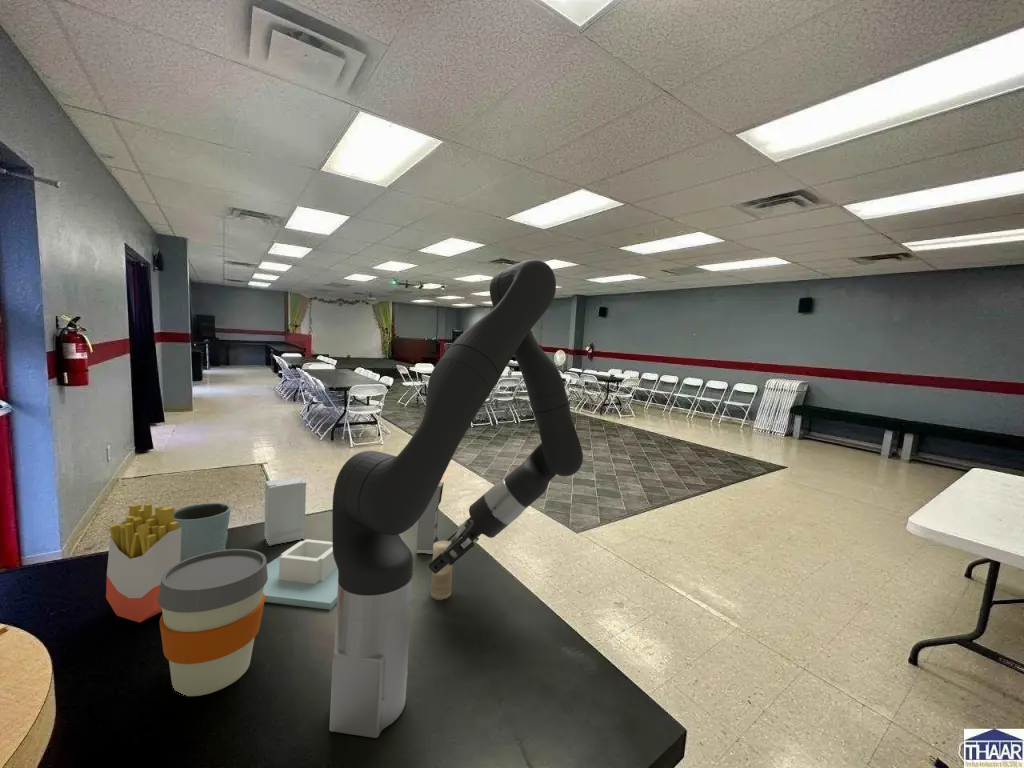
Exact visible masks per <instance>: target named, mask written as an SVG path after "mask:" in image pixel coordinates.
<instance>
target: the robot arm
mask: <svg viewBox="0 0 1024 768" xmlns="http://www.w3.org/2000/svg"><path fill="white" fill-rule="evenodd" d="M556 290H557V282H556V275H555V273H554V270H553V269H552V268H551V266H550V265H549V264H548V263H546V262H544V261H542V260H539V259H527V260H523V261H520V262H519V263H515V264H514V265H511V266H509V267H507V268H505V269H503V270H501V271H499V272H498V273H496V274H495V275H494V276H493V277H492V278H491V281H490V284H489V295H490V300H491V304H492V307H493V308H492V309H491V310H490V311H489V312H488V313H486V314H485V315H484V316H482V317H480V318H479V319H478V320H477V321H476V322H475V323H473V324H472V325H471V326H470V327H468V328H467V329H466V330H465V331H463V333H461V334H460V335H459V336H458V337H457V338H456V339H455V340H454V341H453V343H451V344H450V345H449V347H448V349H447V350H446V351H445V352H444V354H443V355H442V356H441V357H440V359H439V360H438V361H437V363H436V364H435V367H434V368H433V369H432V371H431V373H430V376H429V379H428V382H427V389H426V400H425V410H424V414H423V417H422V420H421V421H420V424H419V426H418V428H417V430H416V431H415V432H414V434H413V435H412V437H411V438H410V440H409V441H408V443H407V444H406V445H405V446H404V447H403V449H402V450H401V451H400V452H399V453H398V454H397V455H393V454H389V453H386V452H382V451H381V452H380V451H375V450H364V451H362V452H359V453H356V454H354V455H353V456H351V457H350V458H348V459H347V461H345V463H344V464H343V466H342V467H341V469H340V470H339V472H338V475H337V477H336V480H335V483H334V489H333V494H332V510H331V511H332V512H331V513H332V517H331V518H332V520H331V521H332V527H331V528H332V529H331V531H332V539H331V540H332V541H331V542H332V543H333V556H334V560H335V563H336V565H337V568H338V593H337V603H336V610H335V611H336V612H335V613H336V614H335V615H336V617H335V630H334V631H335V633H334V635H335V636H334V637H335V638H334V650H333V651H334V654H333V656H332V665H331V666H332V667H331V668H332V671H331V687H330V688H331V689H330V690H331V692H330V710H329V732H332V733H341V734H347V735H354V736H360V737H366V738H367V737H368V738H374V739H377V738H379V736H380V735H381V732H382V731H383V730H384V729H386V728H387V727H388V726H390V725H392V724H393V723H394V722H395V721H396V720H397V719H398V718H399V717H400V715H401V714H402V712H403V711H404V708H405V705H406V700H407V699H406V698H407V680H408V660H409V642H410V641H409V640H410V622H411V605H412V604H411V603H412V602H411V601H412V591H413V590H412V589H413V588H412V586H413V571H414V570H413V569H414V557H413V556H414V555H413V553H412V551H411V549H410V548H409V547H408V546H407V544H406V543H405V542H404V540H403V539H402V537H401V536H400V535H401V534H403V533H405V532H406V531H408V530H410V529H411V528H412V527H413V526H414V525H415V524H416V523H418V520H419V518H420V517H421V516H422V514H423V513H424V511H425V510H426V508H427V506H428V505H429V503H430V501H431V499H432V497H433V495H434V493H435V491H436V489H437V487H438V485H439V483H440V482H442V479H443V477H444V474H445V473H446V471H447V468H448V467H449V466H450V465H449V464H450V462H451V460H452V459H453V457H454V454H455V453H456V451H457V449H458V447H459V445H460V443H461V441H462V440H463V438H464V437H465V435H466V433H467V431H468V430H469V428H470V426H471V424H472V423H473V421H474V419H475V418H476V416H477V415H478V414H479V413H478V412H479V411H480V410H481V408H482V407H483V405H484V404H485V402H486V400H487V399H488V398H489V396H490V394H491V393H492V391H493V389H494V388H495V386H496V385H497V383H498V382H499V380H500V378H501V376H503V375H502V374H503V373H504V371H505V369H507V366H508V365H509V363H510V362H511V360H512V358H513V357H514V358H515V360H516V362H517V365H518V367H519V369H520V372H521V376H522V377H523V381H524V385H525V389H526V393H527V395H528V396H527V397H528V400H529V403H530V407H531V410H532V415H533V417H534V420H535V422H536V425H537V427H538V432H539V437H540V441H541V443H539V444H538V445H537V446H536V447H535V448H534V450H533V451H532V452H531V453H530V454H529V455H528V457H527V458H526V459H525V460H524V461H523V462H522V463H521V464H520V465H519V466H517V467H516V468H515V469H514V470H513V471H511V472H510V473H509V474H507V475H506V477H504V478H503V479H501V481H499V482H497V483H496V484H494V485H493V486H492V487H491V488H489V489H488V491H485V493H483V494H482V495H481V496H480V497H479V498H478V499H477V500H475V502H473V503H472V504H470V506H469V508H468V514H469V518H466V520H465V521H464V522H463V523H461V524H460V525H459V526H458V527H457V528H456V529H455V530H454V532H453V534H452V535H451V536H449V537H448V538H447V539H446V540H445V541H450V545H449V546H448V547H447V548H446V549H444V550H443V552H442V553H441V554H440V555H438V556H437V557H436V558H435V559H434V560H433V559H432V560H431V561H430V562H429V563H428V568H429V570H431V573H432V572H433V573H435V574H436V573H438V572H439V571H440V570H441V569H442V568H444V567H445V566H446V565H447V564H448V563H449V565H450V566H451V565H454V564H455V563H456V562H457V561H458V560H459V559H460V558H462V556H464V555H465V554H466V553H467V552H469V550H470V549H472V548H473V547H474V546H475V544H476V543H477V542H478V541H479V539H480V536H481V535H484V536H485V537H487V538H491V539H492V538H495V537H496V536H497V535H498V534H500V533H501V532H502V531H503V530H504V529H506V527H508V526H509V525H510V524H511V523H513V522H514V521H515V520H517V519H518V518H519V517H520V516H521V515H522V514H523V512H524V511H525V510H526V509H527V508H528V507H530V506H531V505H532V504H533V503H534V502H536V501H537V500H538V499H539V498H540V497H542V495H543V494H544V493H545V492H546V491H547V488H548V485H549V483H550V481H551V480H553V478H555V477H556V476H559V477H570V476H573V475H575V474H576V473H577V472H578V471H579V470H580V469H581V467H582V464H583V460H584V454H583V453H584V452H583V449H582V446H581V442H580V439H579V436H578V433H577V429H576V427H575V424H574V422H573V418H572V413H571V406H570V402H569V398H568V394H567V391H566V386H565V383H564V380H563V378H562V375H561V372H560V371H559V369H558V367H557V366H556V365H555V364H554V362H553V361H552V360H551V359H550V357H549V356H548V355H547V354H546V352H545V351H544V349H543V348H542V347H541V346H540V345H539V342H538V341H537V339H536V338H535V336H534V334H533V332H532V329H533V327H534V326H535V325H536V323H538V321H539V320H540V319H541V318H542V316H543V315H544V314H545V313H546V311H547V310H548V309H549V308H550V306H551V305H552V303H553V301H554V299H555V295H556ZM451 550H454V551H453V552H455V553H453V555H452V554H451V553H450V551H451Z"/></svg>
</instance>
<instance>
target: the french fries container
mask: <svg viewBox="0 0 1024 768" xmlns="http://www.w3.org/2000/svg"><path fill="white" fill-rule="evenodd" d="M128 509H129V510H128V515H129V516H126V517H125V521H122V522H121V523H120V524H118V523H115V524H111V525H110V526H109V532H110V536H109V544H108V545H109V546H108V554H107V555H108V559H107V568H106V587H105V588H106V590H105V592H106V593H105V599H106V601H107V602H108V603H109V606H111V609H112V610H113V612H114V614H115V615H116V616H118V617H119V618H120V617H121V618H123V619H127V620H130V621H134V622H136V623H139V624H140V623H143V622H144V621H146V620H149V619H150V618H151V619H152V617H155V616H157V615H158V614H160V613H162V607H161V606H160V605H159V604H158V595H159V589H160V583H161V578H162V575H163V574H164V573H165V571H167V570H168V569H169V568H170V567H172V566H174V565H175V564H177V563H179V562H180V556H181V529H182V528H180V527H178V526H179V522H174V511H175V507H170V506H168V507H165V508H164V507H163V506H158V507H155V508H154V514H153V504H152V503H148V504H144V505H143V509H142V504H138V503H137V504H132V505H129V506H128Z"/></svg>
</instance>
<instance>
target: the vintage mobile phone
mask: <svg viewBox="0 0 1024 768" xmlns="http://www.w3.org/2000/svg"><path fill="white" fill-rule="evenodd" d="M443 490H444V482H443V481H440V483H439V485H438V487H437V489H436V491H435V493H434V495H433V497H432V499H431V501H430V503H429V505H428V506H427V508H426V510H425V511H424V513H423V514H422V516H421V517H420V518H419V520H418V521H417V536H416V537H417V538H416V539H417V540H416V551H417V550H433V544H434V543H435V542H438V541H440V540H439V538H438V523H439V520H438V519H439V505H441V502H442V497H443Z"/></svg>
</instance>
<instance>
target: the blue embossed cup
mask: <svg viewBox="0 0 1024 768" xmlns="http://www.w3.org/2000/svg"><path fill="white" fill-rule="evenodd" d="M231 509H232V508H231V505H229V504H226V503H220V502H205V503H198V504H192V505H187V506H184V507H181V508H179V509H176V510H174V522H179V526H178V527H180V528H182V529H181V556H180V562H181V561H183V560H186V559H188V558H191V557H194V556H197V555H201V554H205V553H209V552H214V551H220V550H227V548H226V545H227V542H228V534H229V533H228V530H229V529H228V528H229V525H230V524H229V523H230V517H231Z"/></svg>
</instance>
